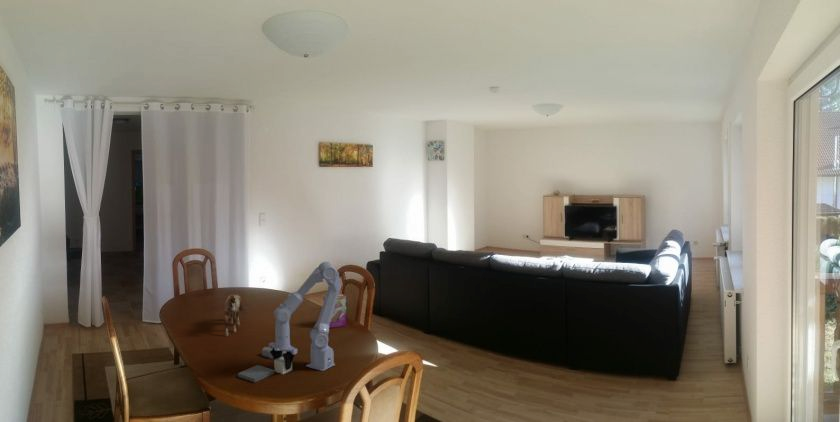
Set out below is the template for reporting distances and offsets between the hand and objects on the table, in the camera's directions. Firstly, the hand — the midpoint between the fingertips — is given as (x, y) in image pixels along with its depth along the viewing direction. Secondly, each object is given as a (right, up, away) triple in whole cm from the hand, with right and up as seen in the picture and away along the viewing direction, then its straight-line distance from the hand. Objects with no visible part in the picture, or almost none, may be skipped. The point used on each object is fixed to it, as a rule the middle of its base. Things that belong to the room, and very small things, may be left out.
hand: (283, 367), depth 214 cm
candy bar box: (+12, +4, +58) cm, 59 cm away
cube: (0, -1, 0) cm, 1 cm away
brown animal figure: (-37, +4, +54) cm, 66 cm away
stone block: (-7, 0, +19) cm, 20 cm away
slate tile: (-10, -2, -4) cm, 11 cm away
